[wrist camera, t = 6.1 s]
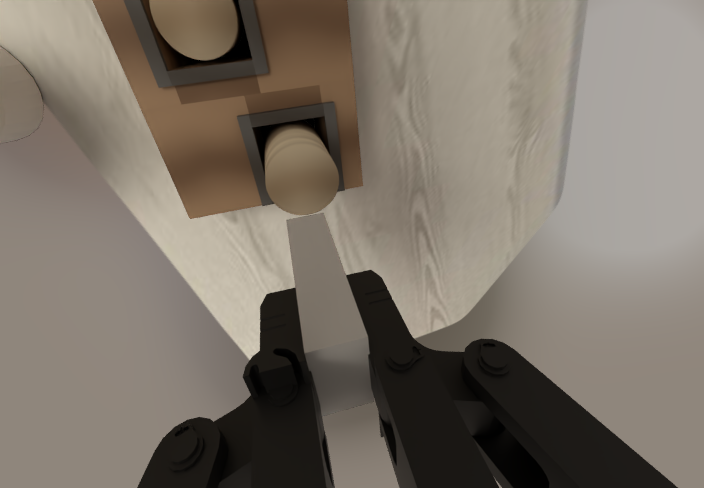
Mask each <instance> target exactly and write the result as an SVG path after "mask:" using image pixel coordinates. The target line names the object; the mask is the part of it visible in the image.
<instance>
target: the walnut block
mask: <svg viewBox="0 0 704 488" xmlns="http://www.w3.org/2000/svg"><path fill="white" fill-rule="evenodd" d="M238 1H239V5H240V10H241V14H242V18H243V22H244V26H245V31H246V35H247V39H248V43H249V47H250V51H251V55H248V56H240V57H232V58H224V59H216V60H208V61H200V62H192V60H191V58H190V57H187V56H185V55H183V54H181V53H180V52H178V51H177V50H176V49H174V48H173V47H172V46H171V45H170V44H169V43H168V42H167V41H166V40H165V39H164V38H163V36H162V35H161V33H160V32H159V30H158V28H157V27H156V25H155V22H154V20H153V17H152V14H151V9H150V2H149V0H93V3H94V5H95V7H96V9H97V12H98V14H99V16H100V18H101V21H102V23H103V25H104V27H105V30H106V32H107V34H108V36H109V39H110V41H111V43H112V45H113V48H114V50H115V52H116V54H117V57H118V59H119V61H120V63H121V66H122V68H123V70H124V72H125V75H126V77H127V79H128V81H129V83H130V86H131V88H132V90H133V92H134V95H135V97H136V99H137V101H138V104H139V106H140V108H141V110H142V113H143V115H144V117H145V119H146V122H147V124H148V126H149V128H150V131H151V133H152V135H153V137H154V140H155V142H156V144H157V146H158V149H159V151H160V153H161V155H162V157H163V160H164V162H165V164H166V166H167V169H168V171H169V173H170V175H171V178H172V180H173V182H174V184H175V187H176V189H177V191H178V193H179V196H180V198H181V200H182V202H183V205H184V207H185V209H186V211H187V214H188V216H189V218H190V219H192V218H198V217H203V216H208V215H213V214H218V213H224V212H229V211H234V210H239V209H245V208H250V207H255V206H260V205H262V206H265V205H270V204H275V203H274V202H273V201H272V200H271V198H270V196H269V194H268V192H267V189H266V184H265V145H264V141H263V137H262V133H261V129H260V126H265V125H271V124H278V123H284V122H290V121H297V120H303V119H309V118H313V120H314V126H315V130H316V132H317V134H318V135H319V137H320V139H321V141H322V142H323V144H324V146H325V147H326V149H327V151H328V153H329V154H330V156H331V158H332V160H333V161H334V163H335V165H336V167H337V170H338V174H339V186H338V190H337V192H338V191H343V190H345V189H349V188H354V187H359V186H363V182H362V170H361V158H360V146H359V135H358V123H357V111H356V99H355V88H354V76H353V64H352V52H351V41H350V29H349V17H348V5H347V0H238Z"/></svg>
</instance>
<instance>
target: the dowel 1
mask: <svg viewBox="0 0 704 488" xmlns="http://www.w3.org/2000/svg"><path fill="white" fill-rule="evenodd" d="M149 2H150V9H151V14H152V17H153V20H154V22H155V25H156V27H157V28H158V30H159V32H160V33H161V35H162V36H163V38H164V39H165V40H166V41H167V42H168V43H169V44H170V45H171V46H172V47H173V48H174V49H176V50H177V51H178V52H180V53H181V54H183V55H185V56H187V57H190V58H193V59H197V60H212V59H215V58H218V57H220V56H223V55H225V54H227V53H229V52H231V51H233V50H234V49H235V48H236V47H237V46H238V45H239V43H240V41H241V39H242V36H243V28H244V26H243V18H242V15H241V12H240V9H239V7H238V5H237V4H236V2H235V1H234V0H149Z"/></svg>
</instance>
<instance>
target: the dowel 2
mask: <svg viewBox="0 0 704 488" xmlns="http://www.w3.org/2000/svg"><path fill="white" fill-rule="evenodd" d="M265 184H266V189H267V192H268V194H269V196H270V198H271V200H272V201H273V202H274V203H275V204H276V205H277V206H278V207H279V208H281V209H282V210H284V211H286V212H288V213H291V214H296V215H308V214H312V213H316V212H318V211H320V210H322V209H323V208H325V207H326V206H327V205H328V204H329V203H330V202H331V201H332V200H333V198H334V197H335V195H336V193H337V190H338V186H339V174H338V170H337V167H336V165H335V163H334V161H333V160H332V158H331V156H330V154H329V153H328V151H327V149H326V147H325V146H324V144H323V142H322V141H321V139H320V137H319V135H318V134H317V132H316V130H315V129H314V128H313V126H312V125H310V124H309V123H308V122H306V121H305V120H297V121H290V122H284V123H278V124H273V125H272V126H271V127H270V128H269V130H268V132H267V134H266V137H265Z"/></svg>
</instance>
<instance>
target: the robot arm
mask: <svg viewBox="0 0 704 488" xmlns="http://www.w3.org/2000/svg"><path fill="white" fill-rule="evenodd" d="M286 221H287V228H288V236H289V243H290V250H291V258H292V265H293V273H294V280H295V287H296V288H292V289H287V290H283V291H278V292H274V293H269V294H267V295H266V297H265V299H264V301H263V302H262V304H261V306H260V320H261V322H260V331H261V333H260V351H259V352H258V353H257V354H255V355H254V356H253V357H252V358H251V360H250V361H249V362H248V364H247V365H246V367H245V371H244V374H243V378H244V381H245V383H246V385H247V387H248V389H249V391H250V393H251V396H250V397H249V398H248V399H247V400H246V401H245V402H244V403H243V404H241V405H240V406H239V407H237V408H236V409H234V410H233V411H231V412H229V413H228V414H226V415H224V416H223V417H221V418H219V419H218V420H216V421H214V422H213V421H212V420H211V419H207V418H202V417H198V418H194V419H189V420H186V421H185V422H183V423H181V424H179V425H178V426H176V427H174V428H173V429H172V430H171V431H170V432H169V433H168V434H167V435H166V436H165V437H164V438H163V439H162V441H161V442H160V444H159V445H158V447H157V448H156V450H155V452H154V454H153V456H152V458H151V460H150V462H149V464H148V466H147V468H146V470H145V473H144V475H143V477H142V479H141V481H140V483H139V485H138V487H137V488H335V486H334V480H333V474H332V468H331V462H330V456H329V451H328V444H327V439H326V435H325V431H324V426H323V421H322V416H326V415H329V414H333V413H336V412H339V411H343V410H347V409H350V408H354V407H357V406H361V405H364V404H368V403H371V402H374V398H375V401H376V405H377V408H378V411H379V421H380V433H381V437H384V438H385V441H386V445H387V448H388V451H389V454H390V458H391V461H392V464H393V468H394V471H395V474H396V477H397V481H398V484H399V487H400V488H499V486H498V485H497V483H496V481H495V479H496V480H497V481H498V483H499V484H500V485H501V487H502V488H678V487H676V486H675V485H674V484H673V483H672V482H671V481H669V480H668V479H667V478H666V477H665V476H663V475H662V474H661V473H660V472H659V471H657V470H656V469H655V468H654V467H653V466H652V465H650V464H649V463H648V462H647V461H646V460H644V459H643V458H642V457H641V456H640V455H639V454H637V453H636V452H635V451H634V450H632V449H631V448H630V447H629V446H628V445H627V444H625V443H624V442H623V441H622V440H621V439H620V438H618V437H617V436H616V435H615V434H614V433H612V432H611V431H610V430H609V429H608V428H606V427H605V426H604V425H603V424H602V423H601V422H599V421H598V420H597V419H596V418H595V417H593V416H592V415H591V414H590V413H589V412H588V411H586V410H585V409H584V408H583V407H582V406H580V405H579V404H578V403H577V402H576V401H574V400H573V399H572V398H571V397H570V396H569V395H567V394H566V393H565V392H564V391H563V390H561V389H560V388H559V387H558V386H557V385H556V384H554V383H553V382H552V381H551V380H550V379H549V378H547V377H546V376H545V375H544V374H543V373H541V372H540V371H539V370H538V369H537V368H535V367H534V366H533V365H532V364H531V363H529V362H528V361H527V360H526V359H525V358H524V357H522V356H521V355H520V354H519V353H518V352H517V351H515V350H514V349H513V348H511V347H510V346H508V345H506V344H505V343H503V342H500V341H497V340H493V339H479V340H476V341H473V342H471V343H470V344H469V345H468V346H467V347H466V348H465V352H445V351H436V350H432V349H429V348H426V347H424V346H423V345H421V344H420V343H418V342H417V341H416V340H415V339H414V338H413V337H412V335H411V334H410V332H409V330H408V328H407V326H406V324H405V322H404V320H403V319H402V317H401V315H400V313H399V311H398V309H397V307H396V305H395V303H394V301H393V300H392V297H391V295H390V293H389V291H388V290H387V287H386V285H385V283H384V281H383V279H382V277H380V276H379V275H378V274H376V273H375V272H374V271H372V270H368V271H363V272H359V273H354V274H350V275H346V274H345V271H344V269H343V266H342V263H341V260H340V258H339V255H338V252H337V249H336V246H335V244H334V241H333V238H332V235H331V233H330V230H329V227H328V224H327V221H326V219H325V216H324V213H320V214H315V215H310V216H304V217H299V218H294V219H289V220H286ZM493 476H494V477H493ZM494 478H495V479H494Z"/></svg>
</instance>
